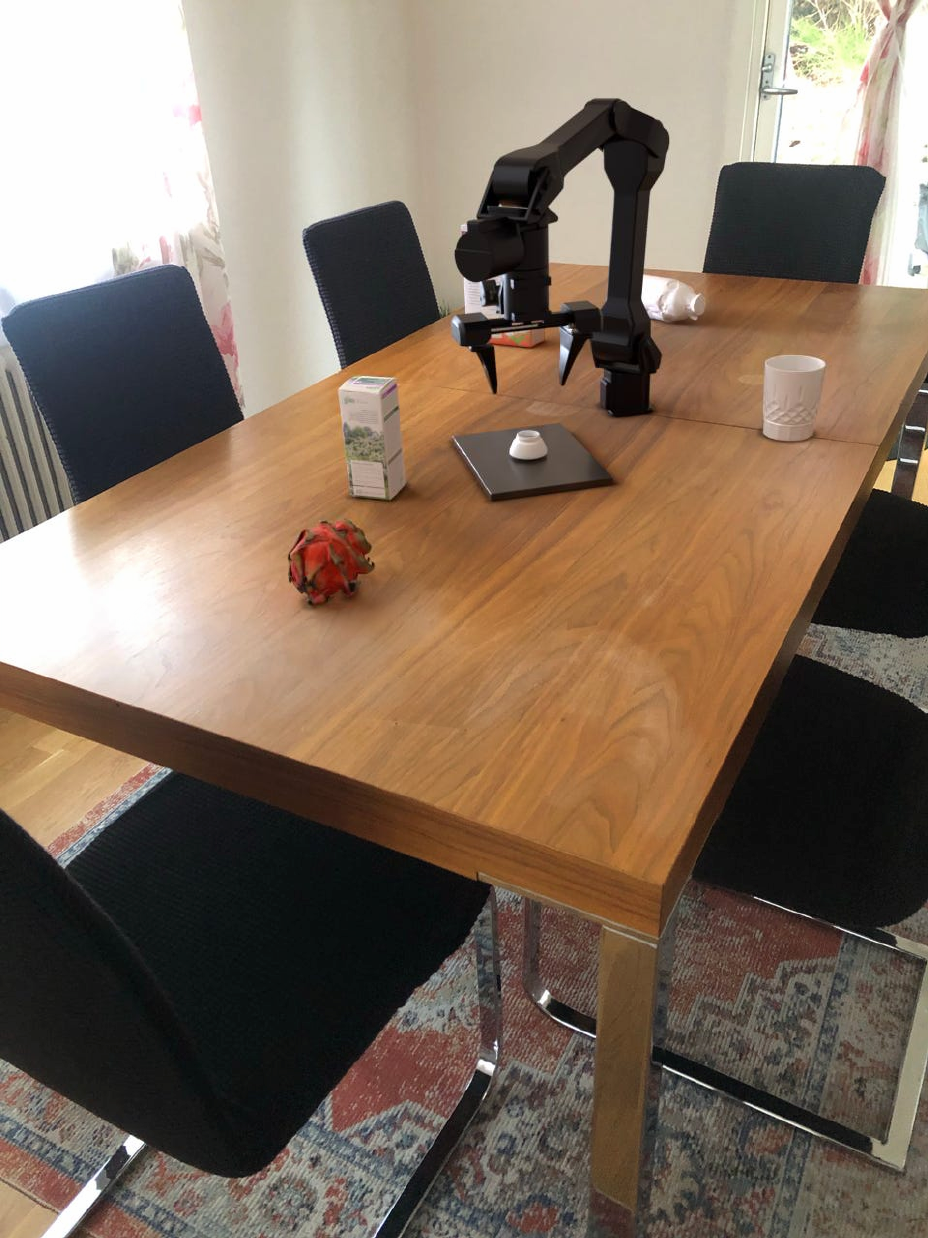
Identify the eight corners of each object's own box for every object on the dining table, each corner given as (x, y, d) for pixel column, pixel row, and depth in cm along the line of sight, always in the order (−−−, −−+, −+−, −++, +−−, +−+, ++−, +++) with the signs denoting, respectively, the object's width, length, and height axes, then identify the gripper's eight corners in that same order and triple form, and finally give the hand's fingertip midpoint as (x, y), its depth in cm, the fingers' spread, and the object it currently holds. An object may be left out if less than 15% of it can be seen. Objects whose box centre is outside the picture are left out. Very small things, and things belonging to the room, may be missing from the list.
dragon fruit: (367, 578, 116) (320, 644, 108) (304, 534, 116) (252, 597, 107) (400, 531, 111) (353, 598, 102) (334, 485, 110) (281, 548, 101)
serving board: (560, 429, 151) (560, 422, 150) (612, 484, 132) (612, 477, 132) (453, 442, 148) (452, 436, 148) (491, 501, 129) (491, 494, 129)
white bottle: (685, 332, 193) (688, 288, 189) (609, 316, 205) (610, 274, 201) (711, 323, 197) (715, 280, 193) (635, 308, 210) (637, 267, 206)
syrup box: (407, 484, 135) (398, 375, 128) (390, 502, 131) (379, 390, 123) (367, 480, 137) (356, 373, 130) (348, 498, 132) (336, 387, 125)
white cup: (820, 427, 146) (830, 357, 141) (811, 446, 140) (821, 373, 135) (764, 421, 149) (771, 352, 144) (752, 440, 143) (759, 368, 138)
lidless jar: (546, 461, 137) (547, 448, 142) (546, 440, 136) (547, 427, 140) (508, 462, 138) (511, 448, 142) (508, 441, 136) (510, 428, 141)
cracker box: (546, 340, 192) (545, 221, 182) (530, 349, 188) (528, 227, 177) (482, 333, 199) (477, 217, 188) (465, 341, 195) (459, 223, 184)
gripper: (576, 247, 137) (576, 364, 145) (438, 261, 133) (445, 380, 141) (605, 263, 127) (603, 387, 135) (458, 278, 124) (464, 404, 132)
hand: (528, 388), depth 136 cm, fingers open, 9 cm apart
